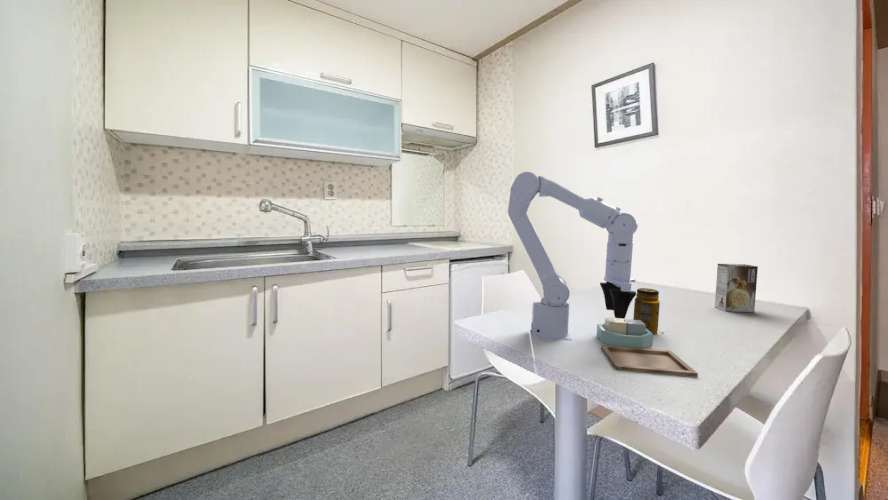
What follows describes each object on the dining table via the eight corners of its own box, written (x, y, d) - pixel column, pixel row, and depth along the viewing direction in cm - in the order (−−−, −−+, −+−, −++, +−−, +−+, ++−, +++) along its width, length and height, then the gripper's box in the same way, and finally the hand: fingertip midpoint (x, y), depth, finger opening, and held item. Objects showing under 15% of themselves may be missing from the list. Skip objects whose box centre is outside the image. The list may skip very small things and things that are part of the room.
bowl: (604, 348, 83) (605, 334, 83) (593, 332, 94) (594, 320, 94) (657, 352, 81) (658, 338, 81) (639, 336, 92) (640, 323, 92)
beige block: (608, 341, 86) (609, 322, 86) (604, 336, 90) (605, 317, 90) (625, 342, 86) (626, 323, 85) (620, 337, 90) (621, 318, 89)
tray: (615, 371, 70) (615, 366, 70) (600, 350, 82) (601, 345, 82) (697, 379, 68) (697, 373, 67) (670, 355, 79) (670, 350, 79)
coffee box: (742, 308, 124) (746, 264, 122) (754, 312, 117) (759, 266, 116) (713, 306, 125) (717, 263, 124) (724, 311, 119) (728, 265, 117)
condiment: (664, 333, 95) (667, 290, 94) (648, 338, 91) (651, 294, 89) (637, 326, 101) (639, 286, 100) (621, 331, 97) (624, 289, 95)
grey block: (622, 337, 89) (623, 318, 89) (639, 339, 88) (640, 320, 88) (626, 343, 85) (628, 323, 85) (644, 344, 84) (645, 324, 84)
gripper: (647, 265, 78) (642, 323, 80) (626, 258, 92) (623, 307, 94) (613, 264, 80) (610, 321, 81) (598, 257, 94) (595, 305, 95)
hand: (615, 313), depth 87 cm, fingers open, 7 cm apart
